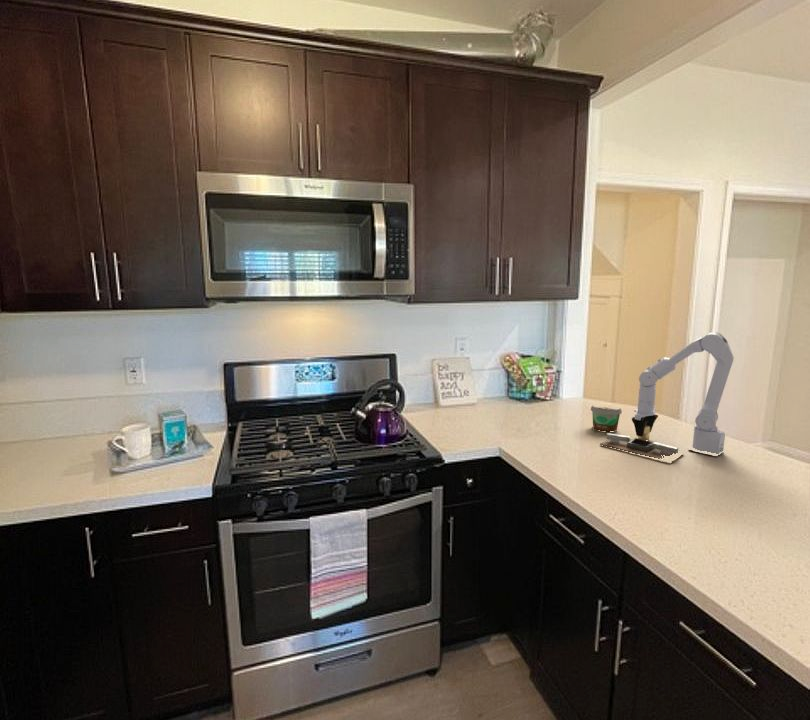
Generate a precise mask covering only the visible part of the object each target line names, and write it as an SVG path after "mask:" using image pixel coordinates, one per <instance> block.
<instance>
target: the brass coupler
mask: <svg viewBox="0 0 810 720" xmlns="http://www.w3.org/2000/svg"><path fill="white" fill-rule="evenodd" d="M650 433H651V432H650V426H649V425H646V426H645V429H644V434H643V436H642V437H640V436H637V439H642V440H649V441H650V435H651V434H650Z"/></svg>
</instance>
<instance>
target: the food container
mask: <svg viewBox="0 0 810 720" xmlns="http://www.w3.org/2000/svg"><path fill="white" fill-rule="evenodd" d="M590 411H591V414H592V429H593V428H594V429H593V430H595V429H596V430H595V431H597V430H600V431H606V432H605V433H607V432H610V431H615V430H618V427H619V422H620V416H621V414H622V408H621V407H620V408H619V409H615V408H614V409H613V408H610V407H597V406H594V405H593V404H592V405H591V407H590ZM600 431H599V432H600Z"/></svg>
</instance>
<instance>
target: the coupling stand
mask: <svg viewBox="0 0 810 720" xmlns="http://www.w3.org/2000/svg"><path fill="white" fill-rule="evenodd" d="M600 445H603V446H607V447H612V448H616V449H620V450H624V451H628V452H632V453H635V454H640V455H645V456H649V457H654V458H658V459H660V458H661V459H662V456H663V455H665V456H670V455H672V454H673V453H674V454H676V453H678V451H679V447H677V446H672V445H669V444H668V445H667V444H664V443H660V442H657V441H656V442H655V441H654V442H653V441H650V440H649V441H646V440H642V439H638V437H637V438H636V437H635V438H633V439H631V436H630V435H623V434H618V433H617V434H616V433H607V432H606V440H603V441H602V442H600V443H599V446H600ZM603 446H602V447H603ZM607 447H606V448H607ZM661 455H662V456H661ZM663 458H664V456H663Z"/></svg>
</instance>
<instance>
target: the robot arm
mask: <svg viewBox="0 0 810 720" xmlns="http://www.w3.org/2000/svg"><path fill="white" fill-rule="evenodd" d="M704 351H705V352H706V353H709V354H710V355H711V356H712V357H713V359H715V361H716V364H715V368H714V370H713V374H712V377H711V379H710V384H709V386H708V390H707V392H706V396H705V400H704V402H703V405H702V408H701V409H700V410H699V412H698V414H697V415H696V417H695V421H694V422H695V423H694V424H695V425H694V428H693V436H692V437H693V438H692V439H693V440H692V446H691V447H693V448H695V449H697V450H700V451H707V452H711V453H716V454H719V453H720V452H722V451H724V447H725V441H726V434H725V432H724V431H721V430H719V429H718V428H719V427H718V426H717V425H716V424H717V421H718V420H719V414H718V409H719V407H720V403H721V399H722V396H723V393H724V390H725V387H726V384H727V381H728V377H729V375H730V371H731V368H732V366H733V362H734V359H735V358H734V357H735V356H734V354H733V352H732V350H731V347H730V344H729V342H728V340H727V339H726V337H724V335H722V334H721V333H720V332H717V331H711V332H709V333H707V334H705V335H704V336H701V337H698V339H695V340H694V341H692V342H690V343H689V344H688V345H686V346H684V347H683V348H682V349H681V350H680V351H678V352H677V353H675V354H674V355H672V356H671V357H663V358H659V359H658V360H657V362H656V363H654V364H653V365H651V366H648V367H647V368H646V370H644V371H642V373H641V374H639V377H638V381H639V389H638V390H639V391H638V400H637V408H635V409H634V412H635V414H634V416H633V417H631V421H632V424H633V426H634V430H635V435H636V437H638V436H640V437H642V436H643V434H644V429H645V426H646V425H649V426H650V433H651V431H652V430H653V428H654V424H655V422H656V420H657V419H658V417H659V415H658V414H656V408H655V403H656V402H655V401H656V393H657V391H656V387H657V386H656V385H657V383H658V380H661V379H663V378H665V377H666V376H667V375H669V374H671V373H673V372H674V371H675V370H676V366H677V364H679V363H680V362H682V361H683V360H685V359H687V358H688V357H690V356H691V355H693V354H695V353H703V352H704Z"/></svg>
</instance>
